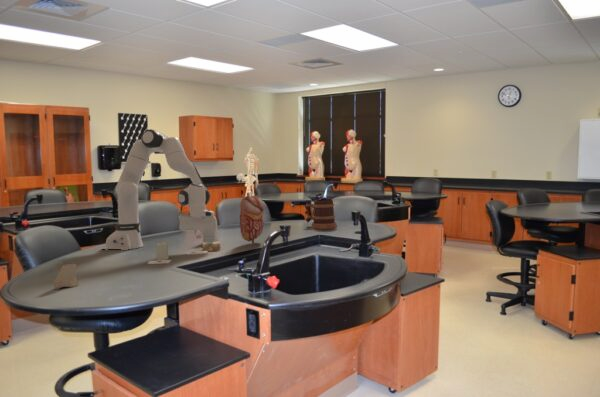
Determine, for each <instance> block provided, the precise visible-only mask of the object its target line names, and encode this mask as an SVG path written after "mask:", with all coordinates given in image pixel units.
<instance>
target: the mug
mask: <svg viewBox="0 0 600 397" xmlns="http://www.w3.org/2000/svg"><path fill="white" fill-rule="evenodd" d="M305 203H306V204H305V207H306V211H307V218H306V219H305V222H307V223H310V222H311V221H312V219H313V222H312V223H311V225H310V227H311V228H312V229H319V230H321V229H322V230H323V229H325V230H326V229H334V228H338V224H337V222H336V221H335V218H336V215H335V211H334V210H335V209H334V208H335V204H334V201H333V199H331V198H327V197H321V198H320V199H318V198H315V199H313V203H311V200H309V199H308V200H305ZM311 207H313V215H312V210H311Z"/></svg>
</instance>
